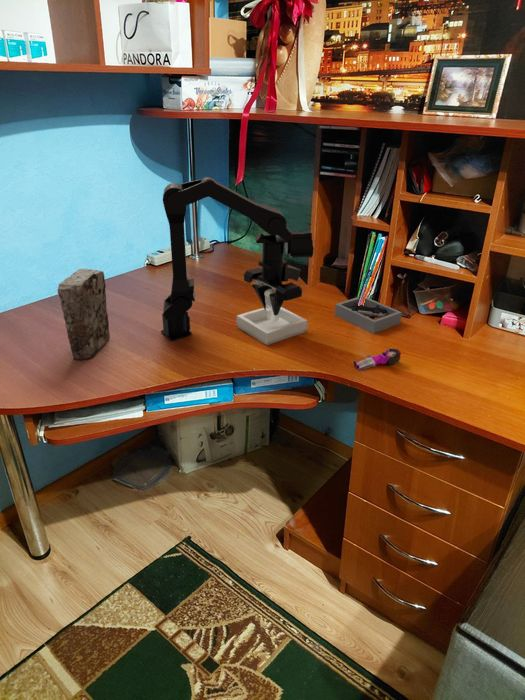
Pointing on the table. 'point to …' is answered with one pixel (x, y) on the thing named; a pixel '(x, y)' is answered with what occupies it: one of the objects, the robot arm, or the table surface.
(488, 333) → the table surface
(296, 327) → the tray
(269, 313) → the milkshake
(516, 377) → the table surface
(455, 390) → the table surface
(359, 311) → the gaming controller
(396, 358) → the character figurine
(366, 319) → the gray open box
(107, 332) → the stone block
